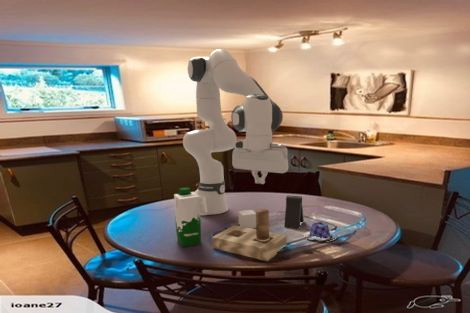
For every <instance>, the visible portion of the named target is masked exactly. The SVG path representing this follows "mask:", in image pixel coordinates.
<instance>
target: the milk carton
mask: <svg viewBox="0 0 470 313" xmlns="http://www.w3.org/2000/svg"><path fill="white" fill-rule="evenodd" d="M178 191H179V193H174V194H173V201H174V216H175V218H174V220H175V230H176V236H177V241H178V243H179V245H181V247H182V248H186V247H190V246H194V245H195V246H196V245H200V244H202V227H201V226H202V225H201V224H202V223H201V221H202V220H201V215H200V196H198V194H196V193H195V191H191V188H190V187H188V186H187V187H180V188H179V190H178Z"/></svg>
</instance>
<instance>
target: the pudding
mask: <svg viewBox="0 0 470 313" xmlns="http://www.w3.org/2000/svg"><path fill="white" fill-rule="evenodd" d="M307 232H310V234H309V236H316V237H320V238H322V237H323V238H328V237H329V236H330V232H331V231H330V228H329V224H328V223H326V222H324V221H316V222H313V223H312V224H311V227H310V230H308V231H306V232H305V231H304V233H303V237H304V238H305V234H306V233H307ZM336 239H337V237H336V238H335V239H333V240H330V239H329V240H330V241H326V242H328V243H329V242H331V241H334V240H336ZM326 242H325V243H326Z"/></svg>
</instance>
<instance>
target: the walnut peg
mask: <svg viewBox="0 0 470 313" xmlns="http://www.w3.org/2000/svg"><path fill="white" fill-rule="evenodd" d="M255 213H256V228H255V229H256V240H257V241H258V242H262V243H268V241H269V240H270V237H269V232H270V211H269V209H266V208H265V209H264V208H261V209H259V208H258V209H256V210H255Z"/></svg>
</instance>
